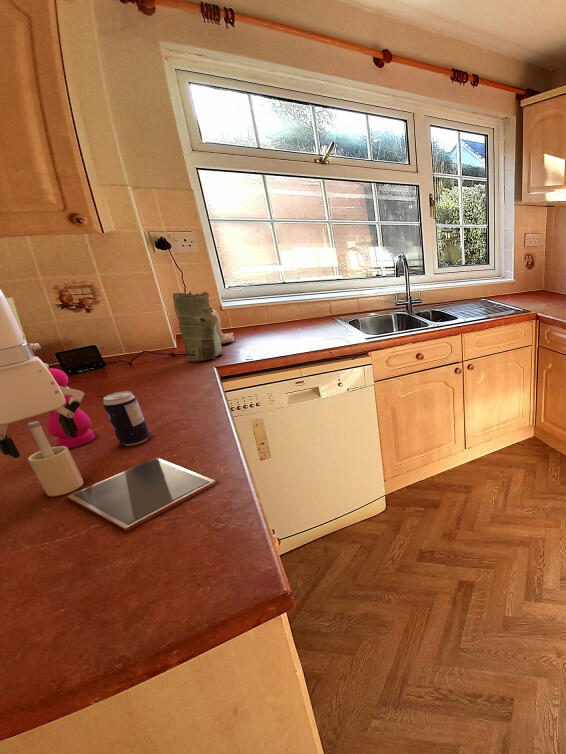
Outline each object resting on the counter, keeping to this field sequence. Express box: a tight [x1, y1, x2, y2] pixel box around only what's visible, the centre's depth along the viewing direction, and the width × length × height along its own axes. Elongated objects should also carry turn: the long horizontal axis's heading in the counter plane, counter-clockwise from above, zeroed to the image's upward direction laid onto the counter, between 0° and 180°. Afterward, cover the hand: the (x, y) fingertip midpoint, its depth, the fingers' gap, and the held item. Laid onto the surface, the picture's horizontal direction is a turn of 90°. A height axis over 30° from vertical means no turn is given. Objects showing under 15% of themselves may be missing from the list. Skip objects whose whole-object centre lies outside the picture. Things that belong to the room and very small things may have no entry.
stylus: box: [27, 420, 55, 458], centre depth 81 cm, size 1×1×14 cm
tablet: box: [66, 456, 217, 533], centre depth 82 cm, size 15×21×1 cm
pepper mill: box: [43, 362, 96, 449], centre depth 97 cm, size 7×7×20 cm
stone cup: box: [211, 308, 235, 345], centre depth 172 cm, size 15×12×15 cm
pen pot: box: [27, 445, 85, 497], centre depth 82 cm, size 5×5×8 cm
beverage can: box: [102, 390, 151, 447], centre depth 98 cm, size 6×6×12 cm
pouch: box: [172, 291, 224, 363], centre depth 154 cm, size 11×12×25 cm
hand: (44, 445), depth 80 cm, fingers open, 7 cm apart
